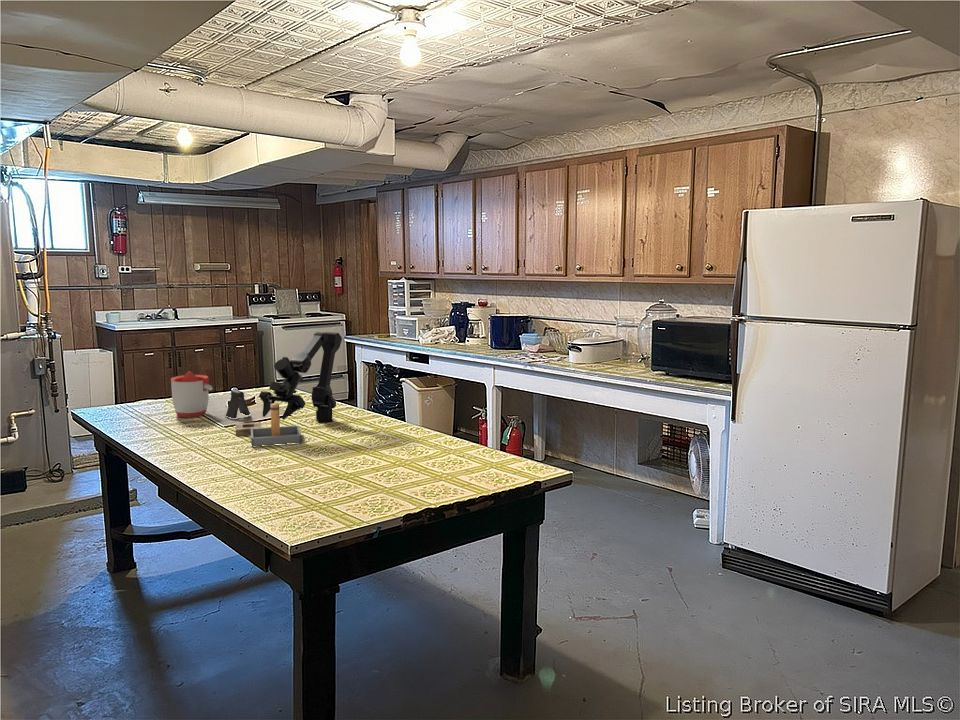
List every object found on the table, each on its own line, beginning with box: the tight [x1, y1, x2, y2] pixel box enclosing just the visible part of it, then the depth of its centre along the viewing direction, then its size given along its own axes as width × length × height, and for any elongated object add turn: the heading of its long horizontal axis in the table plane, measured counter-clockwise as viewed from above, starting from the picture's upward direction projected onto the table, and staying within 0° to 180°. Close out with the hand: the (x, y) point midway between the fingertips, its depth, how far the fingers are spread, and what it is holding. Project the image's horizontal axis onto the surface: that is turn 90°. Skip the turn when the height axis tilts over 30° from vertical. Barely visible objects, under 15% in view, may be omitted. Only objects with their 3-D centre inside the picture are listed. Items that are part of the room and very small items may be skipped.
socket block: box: [235, 421, 263, 437], centre depth 284 cm, size 10×10×2 cm
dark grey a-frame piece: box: [225, 389, 251, 418], centre depth 306 cm, size 9×6×12 cm, turn 138°
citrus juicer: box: [170, 370, 214, 418], centre depth 308 cm, size 16×17×20 cm
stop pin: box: [270, 402, 281, 437], centre depth 271 cm, size 3×3×14 cm
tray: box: [250, 425, 303, 448], centre depth 272 cm, size 19×15×4 cm
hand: (273, 417), depth 270 cm, fingers open, 9 cm apart
